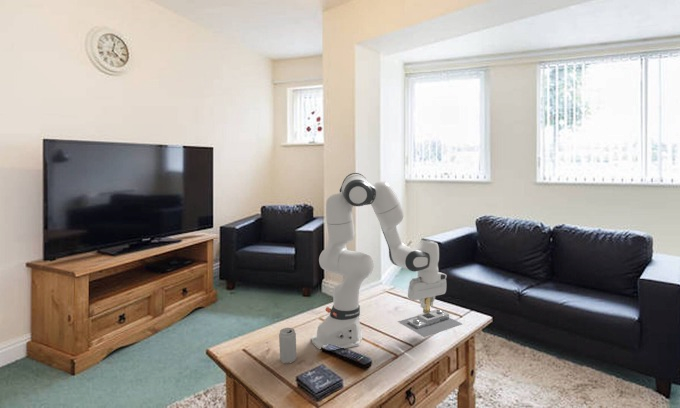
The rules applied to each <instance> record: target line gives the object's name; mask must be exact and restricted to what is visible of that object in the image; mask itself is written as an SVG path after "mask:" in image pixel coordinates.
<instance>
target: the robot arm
mask: <svg viewBox="0 0 680 408" xmlns="http://www.w3.org/2000/svg"><path fill="white" fill-rule="evenodd" d="M368 205H371V208H372V209H373V211H374V214H375V216H376V218H377V220H378V222H379V225H380V228H381V231H382V234H383V237H384V239H385V242H386V244H387V246H388V258H389V260H390V262H391V263H392V264H393V265H395V266H397V267H400V268H402V269H405V270H407V271H410V272H417V277H416V278H415V277H413V278H411V280H410V281H409V285H408V288H407V289H408V291H407V298H408V299H409V300H412V301H419V302H420V303H419V304H420V308H422V309H423V308H425V307H426V304H425V303H424V298H428V297H431V300H430V307H432V306H434V302H435V300H436V297H438V296H441V295H445V294H446V292H447V274H446V273H443V272H440V270H439V261H440V247H439V244H438V243H437V242H436V241H434V240H430V239H427V238H426V239H425V238H422V239H420V241H419V242H418V243H417V244H415V245H413V246H408V245H406V244H405V243H404V242H403V241H402V238H401V237H400V234H399V231H398V229H397V226H398V225H400V223H401V222H402V221H403V219H404V217H405V214H404V209H403V207H402V204H401V202H400V200H399V198H398V196H397V194H396V193H395V191H394V190H393V188H392V186H391V185H390V183H388V182H386V181H383V180H382V181H376V182H375V183H370V182H369V181H368V180H367V178H366V177H365V176H364V175H363V174H362V173H359V172H353V173H350V174H347V176H346V177H345V178H344V179H343V181H342V183H341V185H340V188H339V193H335V194H332V195H330V196H329V197H328V198H327V199H326V203H325V219H326V225H327V226H326V227H327V234H328V235H327V237H328V240H327V245H326V247H325V249H323V250H322V251H321V253H320V255H319V258H318V262H319V266H320V268H321V269H322V270H324V271H326V272H328V273H330V274H335V275H340V276H342V282H339V283H337V284H336V285H335V286H334V288H333V292H332V294H333V295H332V297H333V298H332V300H333V301H332V303H333V305H332V307H331V308H330V307H329V306H327V307H325V309H324V310H325V312H327V313H329V315H328V316H327V317H326V318H325V319H324V320H322V322H321V323H319V325H318V326H317V329H316V334H314V335H312V336H311V342H312V344H313V345H314V346H315V347H316V348H317V349H319V350H320V349H321V347H322V346H323V345H327V344H333V345H337V346H340V347H345V348H344V349H347V348H348V349H350V348H354V347H359V346H360V344H361V341H362V340H363V338H364V336H363V332H362V329H361V322H360V316H361V308H360V304H359V300H360V299H359V297H360V288H361V285H362V284H363V282H364V281H365V280H366V279H367V278H369V277H370V276H371V274H372V272H373V271H374V260H373V258H372V257H371V256H370V255H368V254H366V253H363V252H362V251H355V250H349V249H348V248H347V245H348V244H349V243H350V242H352V241H353V240H354V238H355V235H356V233H355V231H356V230H355V224H354V223H355V222H354V216H353V207H363V206H368Z"/></svg>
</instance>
